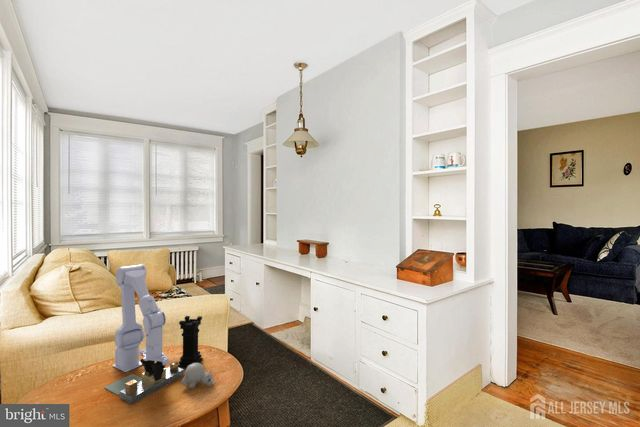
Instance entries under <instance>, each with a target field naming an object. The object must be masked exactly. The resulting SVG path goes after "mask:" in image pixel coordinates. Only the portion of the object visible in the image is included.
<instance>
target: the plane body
mask: <svg viewBox="0 0 640 427" xmlns="http://www.w3.org/2000/svg"><path fill="white" fill-rule="evenodd" d="M178 365H179V361H172V362H169V366H168V367H165V368H166V377H165V378H163V379H162V380H160V381H158V382H156V383H154V384H152V385H150V386H148V385H146V384H144V383H142V381H140V382H138V383H137V381H136V380H134V379H133V380H131V381H129V382H127V383H125V389H124V390H122V391H120V395H119V398H120V399H121V400H123V401H125V402H127V403H129V404H131V405H135V403H137V402H139V401H140V400H143V399H145V398H146V397H148V396H150V395H152V394H153V393H156V392H157V391H159V390H160V389H162V388H164V387H166V386H167V385H170V384H171V383H173V382H175V381H177V380H178V379H180V378H182V377H185V370H184V369H185V368H179V367H178Z"/></svg>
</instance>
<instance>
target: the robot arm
mask: <svg viewBox="0 0 640 427" xmlns="http://www.w3.org/2000/svg"><path fill="white" fill-rule="evenodd" d="M115 276H116V277H115V279H116V280H115V282H116V286H119V287H120V293H121V294H120V296H121V316H122V318H121V319H122V324H121V325H120V326H118V327H117V328H116V329H115V331H114V332H115V336H114V344H115V347H116V348H115V351H114V364H113V365H112V367H113V368H116V369H118V370H121V371H122V372H123V373H128V372H130V371H131V370H134V369H137V368H139V367H141V366H143V368H144V371H145V372H146V371H147V370H149V369H151V368H153V370H154V375H155V381H158V380H159V379H161V377H162V373H163V370H164V368H166V366H167V365H168V364H170V359H169V357H167V356H166V355H165V353H164V352H163V326H164V325H165V324H166V321H167V320H166V314H165V312H164V311H163V310H162V309H161V308H159V307H158V304H157V302H156V300H155V298H154V296H153V295H150V293H149V292H150V291H149V290H148V286H147V283H146V278H147V268H146V266H145V265H144V264H143V263H141V264H136V265H135V264H134V265H127V266H118V268H117V269H116V272H115ZM135 292H136V294H135ZM135 295H137V297H138V299H139V300H138V306H139V308H140V311H141V313H142V316H143V320H142V324H141V323H139V322H137V320H136V319H137V318H136V315H137V314H136V300H135V299H136V296H135ZM143 329H144V330H143ZM144 339H145V348H144V349H141V350H140V345H141V344H142V342H143V341H144ZM140 357H143V358H141V359H140Z"/></svg>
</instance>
